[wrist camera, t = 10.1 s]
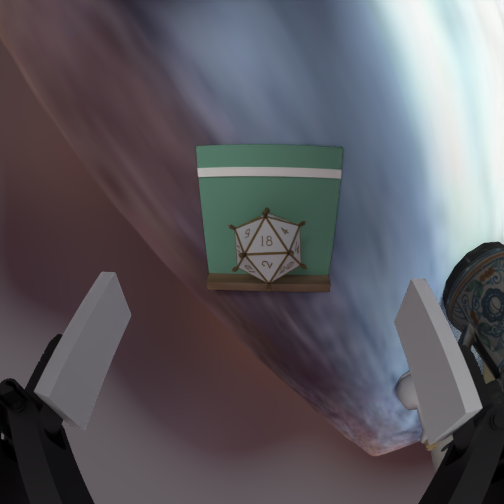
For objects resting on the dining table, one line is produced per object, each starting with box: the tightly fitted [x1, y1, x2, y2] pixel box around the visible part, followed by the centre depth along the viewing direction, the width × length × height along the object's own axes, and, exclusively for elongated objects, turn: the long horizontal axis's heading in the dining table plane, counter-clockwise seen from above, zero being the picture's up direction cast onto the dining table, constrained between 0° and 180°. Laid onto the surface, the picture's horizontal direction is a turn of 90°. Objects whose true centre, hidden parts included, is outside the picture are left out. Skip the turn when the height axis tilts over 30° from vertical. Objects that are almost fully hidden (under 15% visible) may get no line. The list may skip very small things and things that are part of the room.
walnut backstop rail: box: [206, 273, 331, 292], centre depth 39 cm, size 1×16×2 cm, turn 91°
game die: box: [228, 207, 308, 292], centre depth 33 cm, size 9×8×10 cm
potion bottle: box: [397, 371, 438, 450], centre depth 45 cm, size 9×9×18 cm
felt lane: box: [196, 144, 343, 275], centre depth 35 cm, size 17×16×1 cm
